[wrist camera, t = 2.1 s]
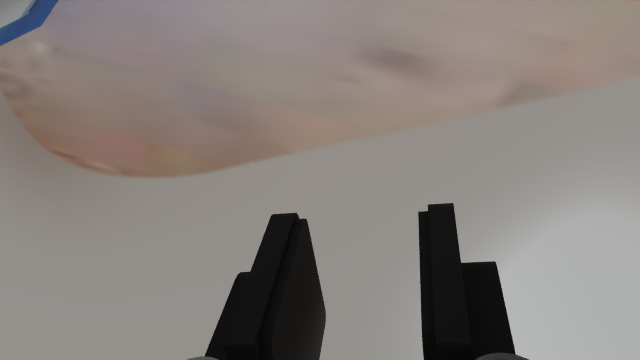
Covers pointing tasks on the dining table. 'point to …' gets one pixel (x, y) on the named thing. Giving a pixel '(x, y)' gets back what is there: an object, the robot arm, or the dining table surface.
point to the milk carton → (22, 17)
